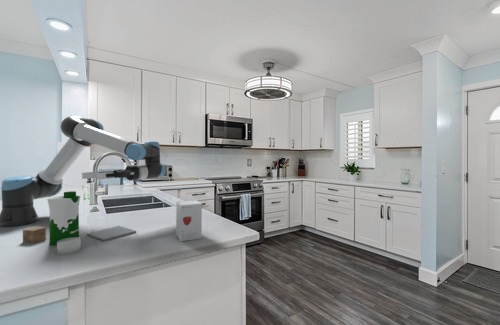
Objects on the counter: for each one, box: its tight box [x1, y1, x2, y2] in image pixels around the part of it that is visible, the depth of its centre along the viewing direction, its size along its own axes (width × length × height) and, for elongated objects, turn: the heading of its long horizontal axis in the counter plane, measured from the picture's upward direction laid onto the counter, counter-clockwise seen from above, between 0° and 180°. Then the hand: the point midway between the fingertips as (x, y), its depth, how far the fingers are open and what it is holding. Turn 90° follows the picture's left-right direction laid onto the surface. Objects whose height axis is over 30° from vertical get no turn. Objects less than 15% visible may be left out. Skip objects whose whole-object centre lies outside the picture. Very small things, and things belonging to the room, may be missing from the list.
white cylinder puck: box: [56, 236, 82, 256], centre depth 89 cm, size 7×7×4 cm
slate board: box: [86, 225, 137, 242], centre depth 109 cm, size 14×14×1 cm
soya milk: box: [46, 190, 81, 246], centre depth 98 cm, size 9×9×20 cm
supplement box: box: [175, 199, 203, 242], centre depth 105 cm, size 9×9×15 cm
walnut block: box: [22, 226, 47, 244], centre depth 100 cm, size 5×5×5 cm
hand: (89, 175), depth 106 cm, fingers open, 13 cm apart
